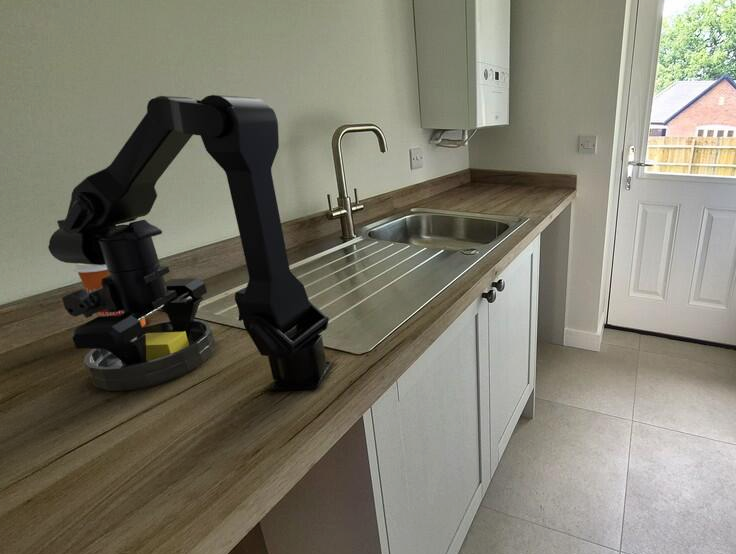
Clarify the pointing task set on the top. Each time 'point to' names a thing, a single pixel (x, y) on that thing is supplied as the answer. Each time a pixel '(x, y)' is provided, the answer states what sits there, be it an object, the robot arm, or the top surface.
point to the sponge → (164, 344)
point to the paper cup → (96, 283)
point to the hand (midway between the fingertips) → (163, 357)
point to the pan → (120, 377)
